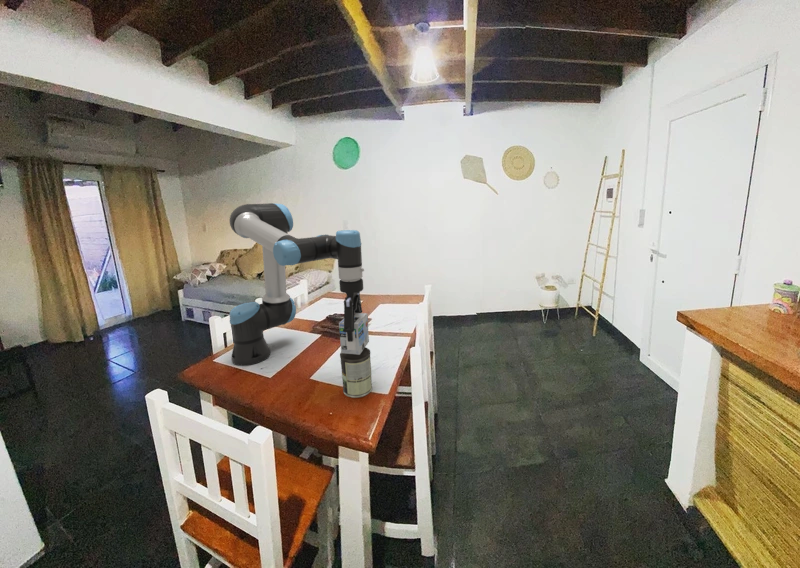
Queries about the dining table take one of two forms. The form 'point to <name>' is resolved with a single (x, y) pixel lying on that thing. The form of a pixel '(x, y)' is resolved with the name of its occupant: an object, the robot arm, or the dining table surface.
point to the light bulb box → (356, 334)
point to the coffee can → (356, 373)
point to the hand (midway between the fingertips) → (355, 341)
